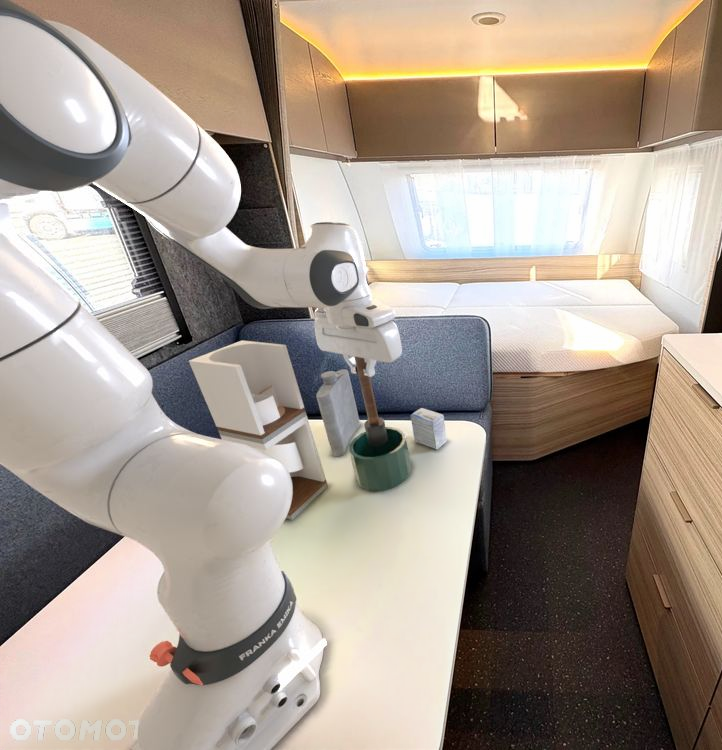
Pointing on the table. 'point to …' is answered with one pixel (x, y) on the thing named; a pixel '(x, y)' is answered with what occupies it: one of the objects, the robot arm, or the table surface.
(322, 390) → the hip flask
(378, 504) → the table surface
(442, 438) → the medicine box
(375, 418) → the wooden plunger stick
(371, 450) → the canister
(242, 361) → the white storage rack
